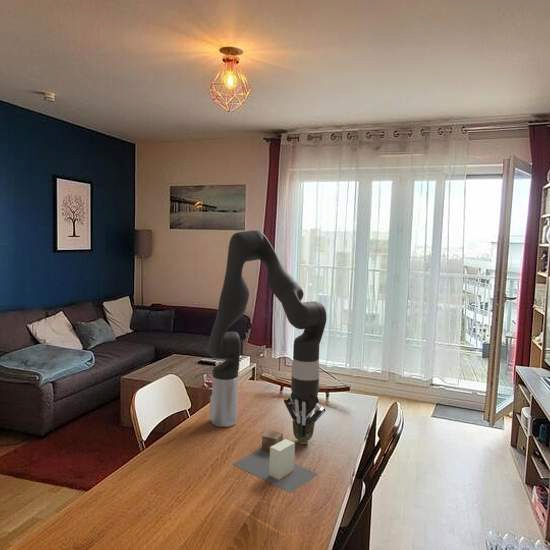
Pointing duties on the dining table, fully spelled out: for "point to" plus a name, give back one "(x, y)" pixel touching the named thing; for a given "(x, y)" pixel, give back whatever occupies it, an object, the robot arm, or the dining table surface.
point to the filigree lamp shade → (299, 439)
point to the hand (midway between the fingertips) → (303, 436)
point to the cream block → (281, 459)
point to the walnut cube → (271, 439)
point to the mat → (260, 468)
